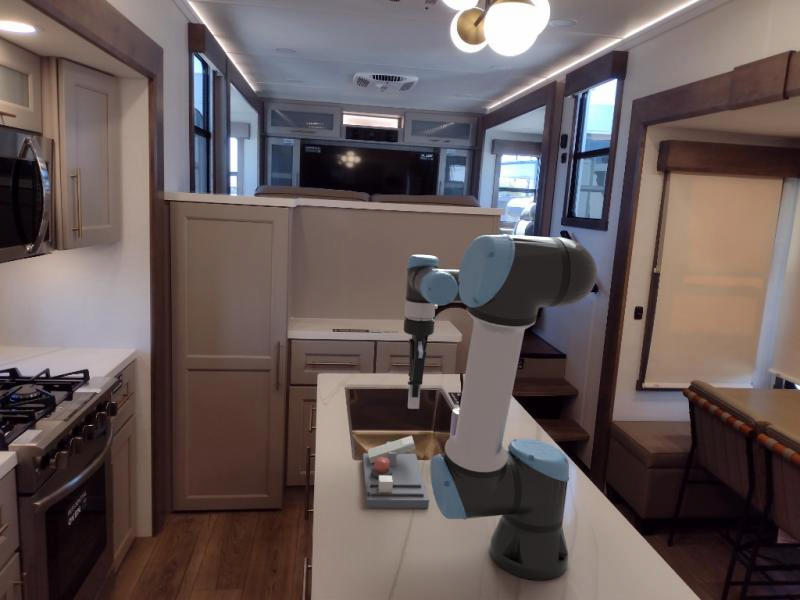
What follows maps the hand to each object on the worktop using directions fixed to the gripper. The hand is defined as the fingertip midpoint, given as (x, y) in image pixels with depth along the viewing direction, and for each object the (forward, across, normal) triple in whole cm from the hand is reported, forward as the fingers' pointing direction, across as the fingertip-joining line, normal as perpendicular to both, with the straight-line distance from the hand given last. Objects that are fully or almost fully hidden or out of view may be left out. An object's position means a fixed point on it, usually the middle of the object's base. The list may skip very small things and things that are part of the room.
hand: (413, 407), depth 148 cm
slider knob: (+14, -16, +8) cm, 23 cm away
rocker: (+11, 0, +5) cm, 12 cm away
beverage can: (+17, +2, -14) cm, 22 cm away
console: (+16, -8, +5) cm, 19 cm away
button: (+13, -8, +8) cm, 17 cm away
